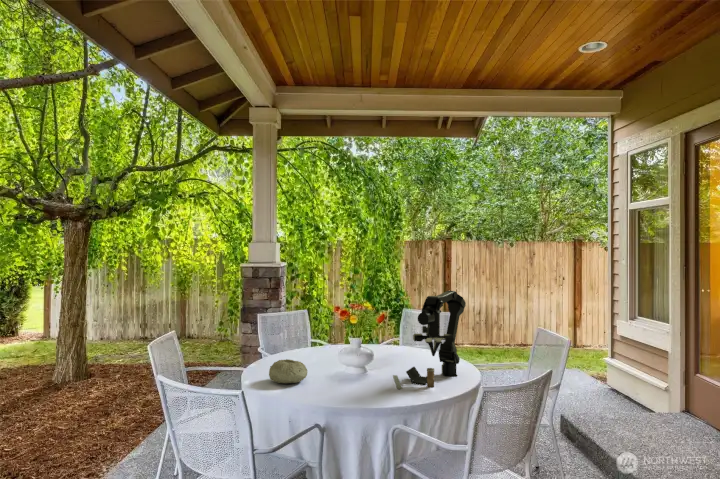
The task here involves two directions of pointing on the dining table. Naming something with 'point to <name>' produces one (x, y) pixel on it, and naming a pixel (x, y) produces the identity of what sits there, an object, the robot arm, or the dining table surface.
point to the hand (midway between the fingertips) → (433, 356)
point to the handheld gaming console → (416, 377)
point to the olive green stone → (287, 371)
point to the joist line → (397, 382)
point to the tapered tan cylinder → (430, 377)
